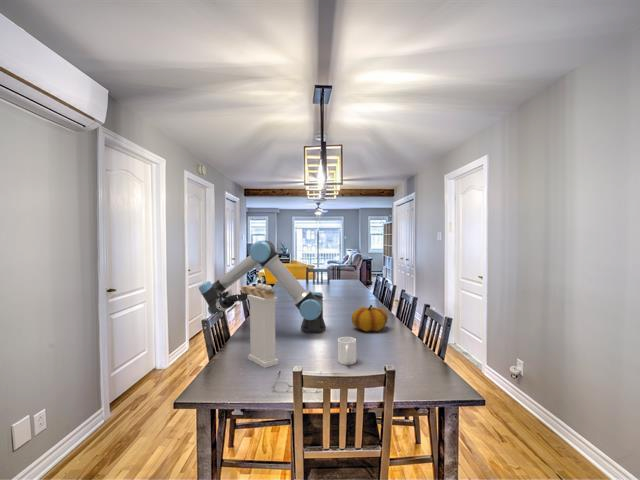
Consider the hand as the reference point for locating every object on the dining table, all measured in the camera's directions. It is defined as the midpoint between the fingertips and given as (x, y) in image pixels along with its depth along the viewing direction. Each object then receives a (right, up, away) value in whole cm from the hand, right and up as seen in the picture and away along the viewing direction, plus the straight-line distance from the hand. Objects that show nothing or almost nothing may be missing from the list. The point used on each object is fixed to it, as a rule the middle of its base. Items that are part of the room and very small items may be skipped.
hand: (244, 290), depth 180 cm
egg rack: (+10, 0, -17) cm, 19 cm away
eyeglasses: (+30, -31, -42) cm, 60 cm away
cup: (+51, -29, -23) cm, 64 cm away
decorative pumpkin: (+69, -28, +31) cm, 81 cm away
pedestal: (+13, -30, -20) cm, 38 cm away
